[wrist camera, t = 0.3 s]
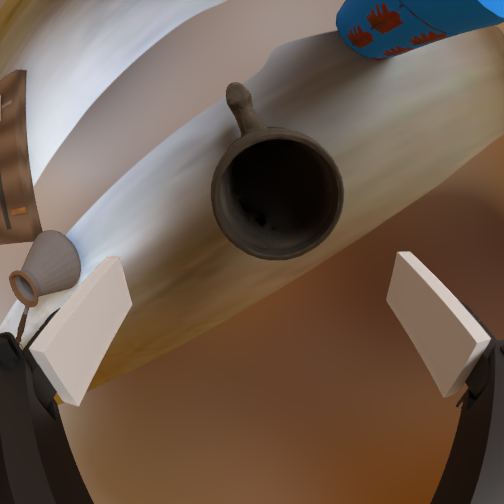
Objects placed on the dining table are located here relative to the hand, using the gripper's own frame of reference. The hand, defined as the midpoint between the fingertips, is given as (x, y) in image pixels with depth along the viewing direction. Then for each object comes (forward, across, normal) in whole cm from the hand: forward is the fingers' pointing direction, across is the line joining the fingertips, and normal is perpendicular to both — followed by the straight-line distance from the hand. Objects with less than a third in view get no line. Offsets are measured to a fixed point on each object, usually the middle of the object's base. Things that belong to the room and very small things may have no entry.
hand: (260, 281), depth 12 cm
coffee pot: (+28, -38, -15) cm, 50 cm away
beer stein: (+28, 0, +4) cm, 28 cm away
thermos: (+28, +17, +24) cm, 40 cm away
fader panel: (+28, -47, +9) cm, 55 cm away
